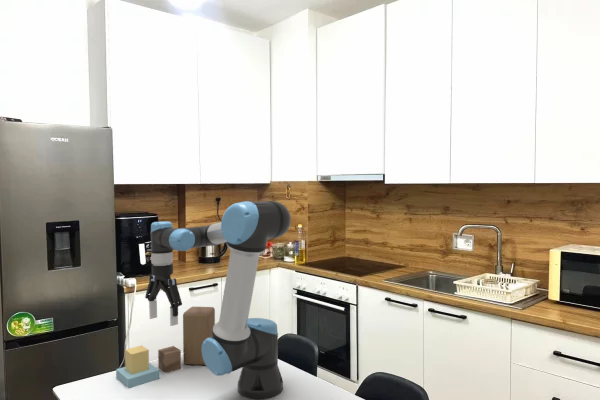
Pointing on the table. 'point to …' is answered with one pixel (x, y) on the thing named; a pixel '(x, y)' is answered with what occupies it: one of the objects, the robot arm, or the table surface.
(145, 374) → the base brick
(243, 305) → the robot arm
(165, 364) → the brick
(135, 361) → the brick
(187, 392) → the table surface
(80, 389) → the table surface
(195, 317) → the wooden block
